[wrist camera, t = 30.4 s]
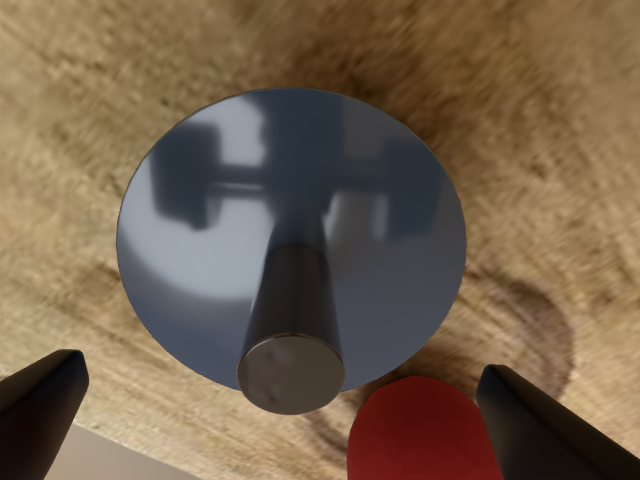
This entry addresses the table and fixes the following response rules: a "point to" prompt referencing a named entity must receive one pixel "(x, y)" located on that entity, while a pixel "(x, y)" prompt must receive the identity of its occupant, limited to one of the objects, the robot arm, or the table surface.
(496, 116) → the table surface
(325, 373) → the lid
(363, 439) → the apple
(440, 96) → the table surface
